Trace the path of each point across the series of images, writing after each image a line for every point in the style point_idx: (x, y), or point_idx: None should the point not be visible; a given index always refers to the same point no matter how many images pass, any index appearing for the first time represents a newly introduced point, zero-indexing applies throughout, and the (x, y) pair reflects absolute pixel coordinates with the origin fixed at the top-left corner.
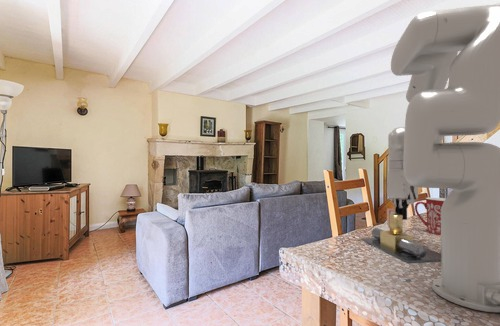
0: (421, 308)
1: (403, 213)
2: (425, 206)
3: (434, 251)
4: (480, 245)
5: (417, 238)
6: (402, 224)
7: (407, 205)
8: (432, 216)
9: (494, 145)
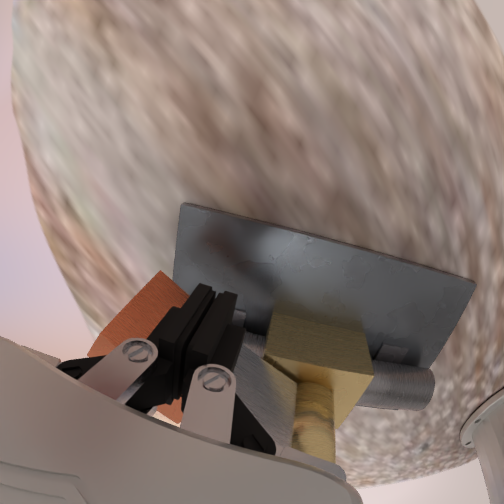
0: (453, 465)
1: (234, 367)
2: None
3: (417, 267)
4: None
5: (220, 91)
6: (332, 426)
7: (252, 426)
8: None
9: None
